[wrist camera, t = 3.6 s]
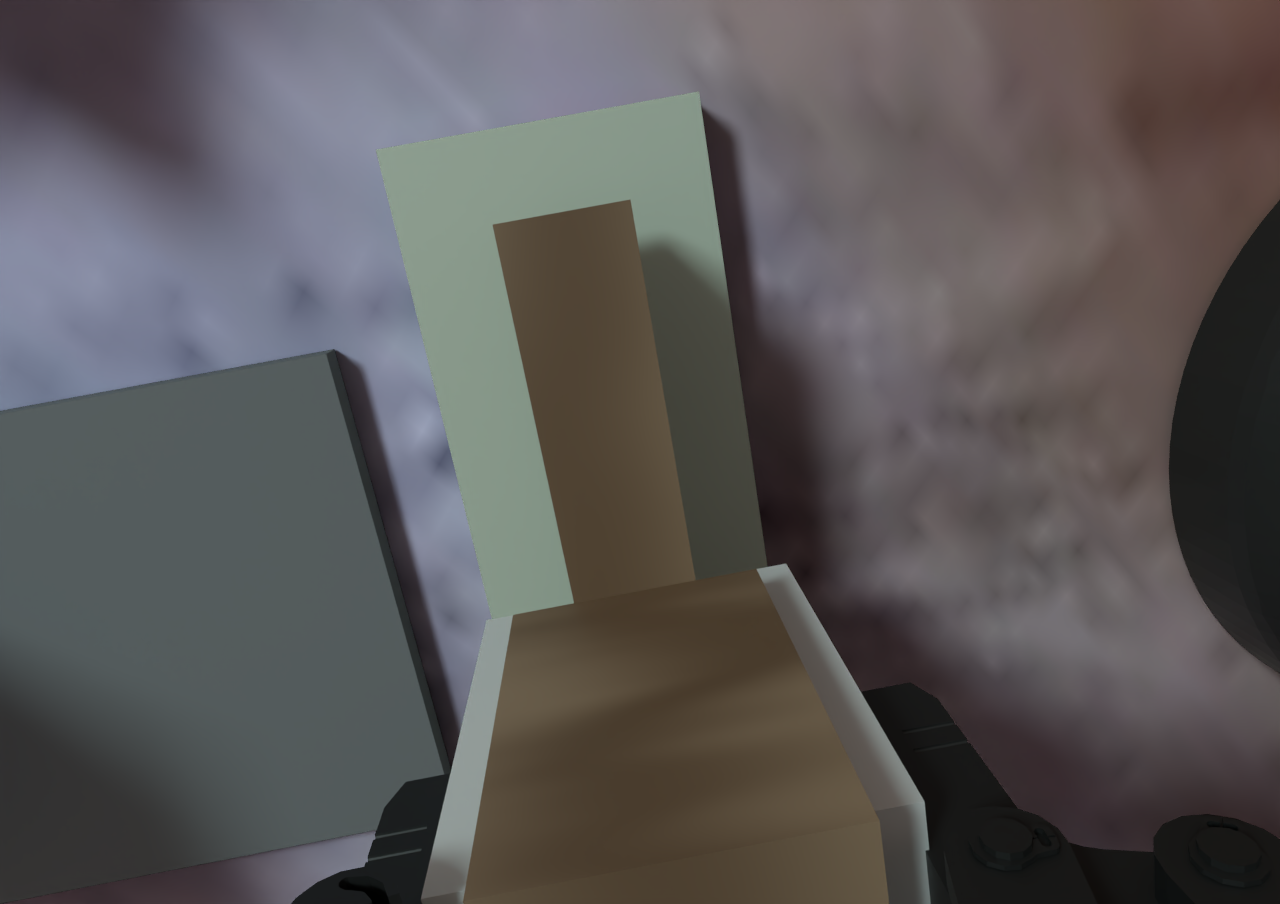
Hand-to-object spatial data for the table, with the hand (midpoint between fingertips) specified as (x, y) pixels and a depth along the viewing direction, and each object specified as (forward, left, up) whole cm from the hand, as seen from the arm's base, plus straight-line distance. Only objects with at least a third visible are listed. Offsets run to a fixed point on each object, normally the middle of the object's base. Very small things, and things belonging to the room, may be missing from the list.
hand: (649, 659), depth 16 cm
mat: (+14, -1, -4) cm, 14 cm away
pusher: (0, 0, -2) cm, 2 cm away
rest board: (0, 0, -4) cm, 4 cm away
